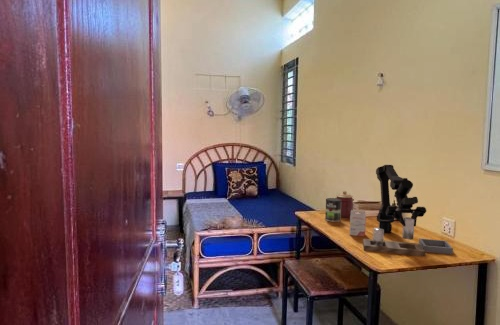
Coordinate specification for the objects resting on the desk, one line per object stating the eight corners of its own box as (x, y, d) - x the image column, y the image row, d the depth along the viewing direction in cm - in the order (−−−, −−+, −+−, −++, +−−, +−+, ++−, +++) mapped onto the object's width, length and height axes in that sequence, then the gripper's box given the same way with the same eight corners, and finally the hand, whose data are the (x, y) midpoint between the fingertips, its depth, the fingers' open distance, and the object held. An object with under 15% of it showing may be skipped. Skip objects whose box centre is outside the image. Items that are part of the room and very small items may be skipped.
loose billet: (400, 237, 177) (402, 218, 176) (404, 235, 180) (405, 216, 180) (411, 240, 173) (412, 220, 172) (414, 238, 177) (415, 218, 176)
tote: (423, 251, 177) (424, 245, 176) (418, 243, 189) (419, 238, 189) (452, 254, 173) (453, 248, 173) (445, 246, 186) (445, 240, 186)
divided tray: (363, 250, 177) (364, 245, 177) (362, 243, 189) (363, 238, 188) (424, 256, 170) (425, 251, 170) (419, 248, 181) (420, 243, 181)
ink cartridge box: (365, 234, 205) (366, 209, 204) (364, 236, 200) (366, 211, 199) (349, 232, 208) (351, 208, 207) (349, 235, 203) (350, 210, 202)
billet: (372, 249, 179) (373, 230, 178) (372, 246, 184) (373, 227, 183) (383, 250, 178) (384, 230, 177) (382, 247, 183) (383, 228, 182)
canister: (349, 218, 243) (351, 193, 241) (331, 215, 250) (332, 191, 248) (355, 214, 253) (356, 190, 252) (338, 212, 260) (338, 188, 259)
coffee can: (337, 222, 231) (338, 201, 230) (322, 220, 237) (323, 199, 235) (342, 219, 239) (343, 199, 238) (328, 217, 245) (329, 197, 244)
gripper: (388, 190, 179) (395, 217, 169) (426, 191, 178) (435, 218, 168) (382, 202, 188) (388, 228, 178) (418, 203, 187) (426, 229, 177)
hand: (409, 225), depth 175 cm, fingers closed on loose billet, 5 cm apart
